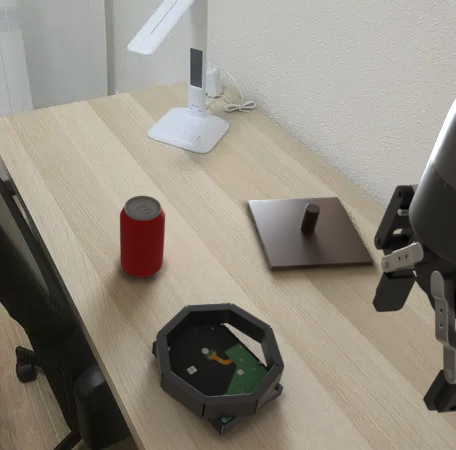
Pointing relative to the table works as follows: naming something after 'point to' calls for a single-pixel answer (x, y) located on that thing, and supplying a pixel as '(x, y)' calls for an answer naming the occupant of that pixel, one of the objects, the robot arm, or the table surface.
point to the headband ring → (228, 403)
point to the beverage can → (142, 236)
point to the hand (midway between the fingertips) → (410, 352)
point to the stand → (307, 233)
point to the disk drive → (217, 366)
